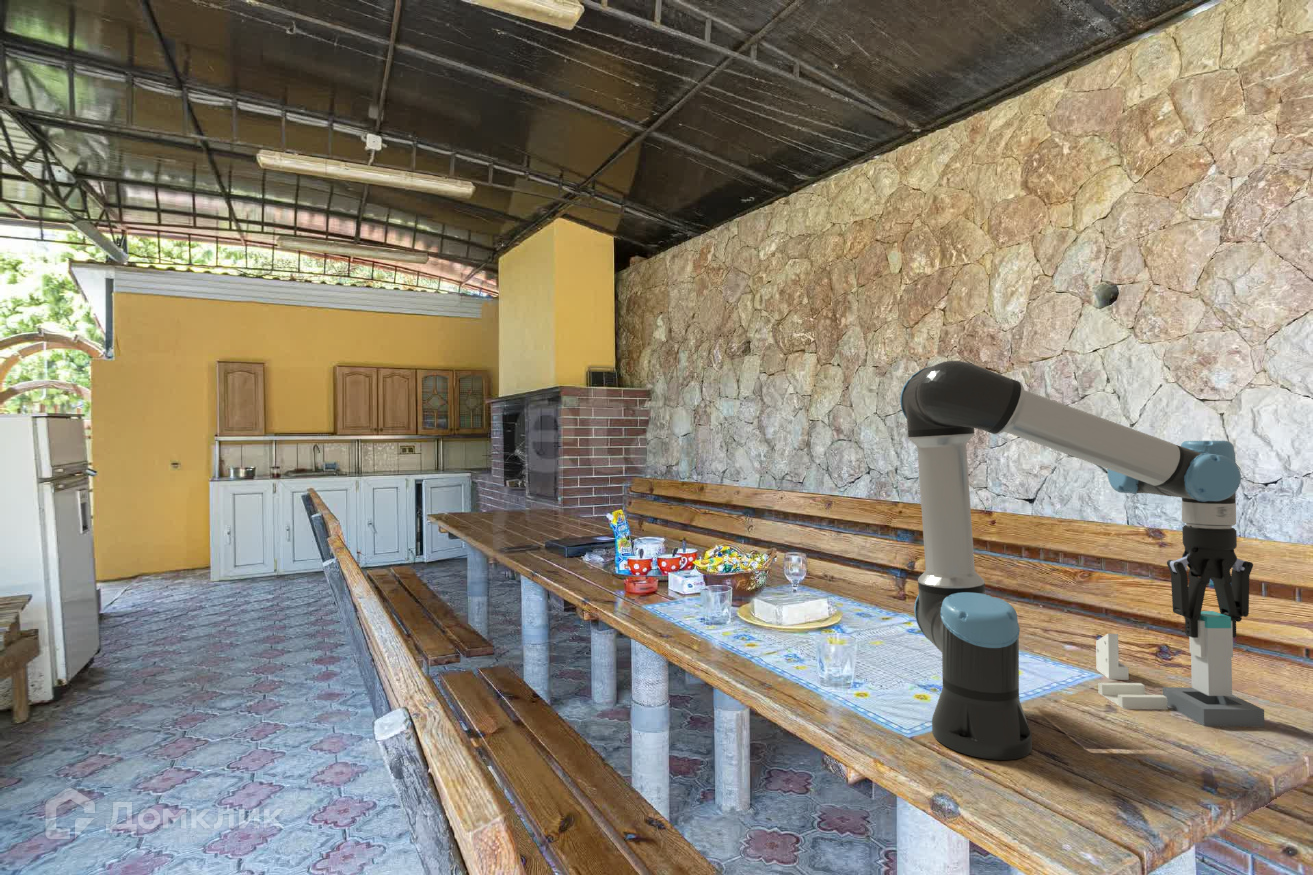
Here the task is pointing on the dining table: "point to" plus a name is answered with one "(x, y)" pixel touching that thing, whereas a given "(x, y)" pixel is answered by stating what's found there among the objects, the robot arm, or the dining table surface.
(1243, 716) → the block
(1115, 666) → the white l-shaped bracket
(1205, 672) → the plug
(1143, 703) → the white low u-shaped block
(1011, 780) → the dining table surface
